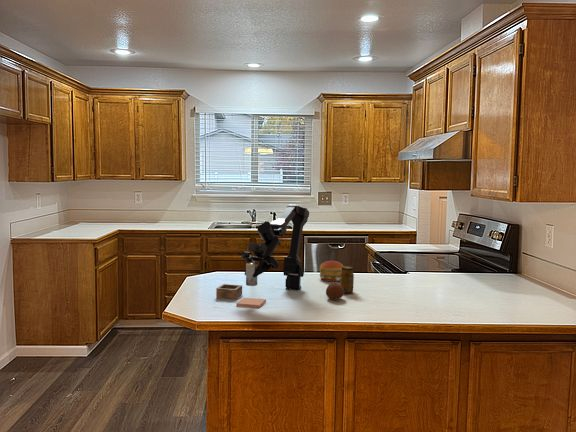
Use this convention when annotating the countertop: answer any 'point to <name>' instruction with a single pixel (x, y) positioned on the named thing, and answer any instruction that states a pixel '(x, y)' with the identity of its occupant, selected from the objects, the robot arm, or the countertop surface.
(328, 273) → the burger
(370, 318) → the countertop surface
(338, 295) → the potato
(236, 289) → the socket block
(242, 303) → the terracotta tile
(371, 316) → the countertop surface
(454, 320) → the countertop surface
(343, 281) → the condiment
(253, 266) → the silver and gold cylinder
